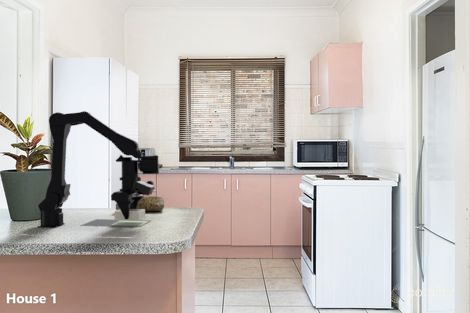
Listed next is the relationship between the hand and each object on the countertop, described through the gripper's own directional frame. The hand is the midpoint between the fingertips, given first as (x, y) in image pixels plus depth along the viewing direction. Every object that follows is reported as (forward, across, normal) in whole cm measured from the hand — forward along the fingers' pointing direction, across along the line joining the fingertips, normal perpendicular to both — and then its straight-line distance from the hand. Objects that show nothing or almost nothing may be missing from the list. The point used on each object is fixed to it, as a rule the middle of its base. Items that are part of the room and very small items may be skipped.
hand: (130, 217), depth 138 cm
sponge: (+3, +26, +6) cm, 27 cm away
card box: (+1, 0, 0) cm, 1 cm away
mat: (+2, 0, +5) cm, 6 cm away
